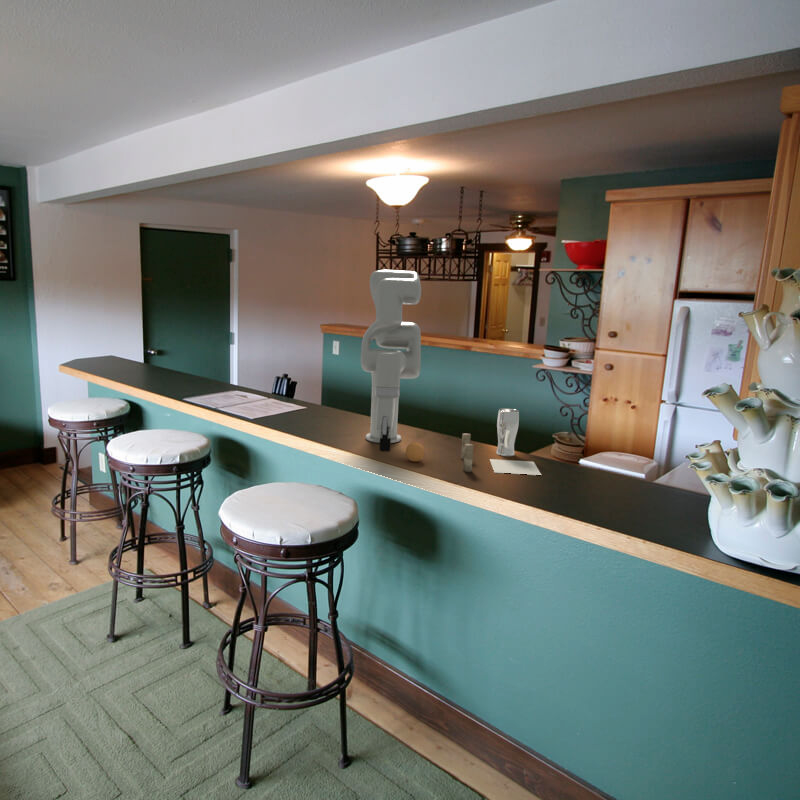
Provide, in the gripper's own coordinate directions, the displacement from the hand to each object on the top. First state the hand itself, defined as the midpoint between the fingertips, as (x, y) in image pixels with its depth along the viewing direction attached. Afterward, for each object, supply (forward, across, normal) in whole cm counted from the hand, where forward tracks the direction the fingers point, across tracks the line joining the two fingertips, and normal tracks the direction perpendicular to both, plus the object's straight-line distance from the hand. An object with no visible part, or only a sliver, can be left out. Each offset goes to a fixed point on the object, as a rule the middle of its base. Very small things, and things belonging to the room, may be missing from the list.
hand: (384, 450), depth 176 cm
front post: (+3, +6, +25) cm, 26 cm away
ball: (0, -1, +9) cm, 9 cm away
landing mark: (+3, -1, +40) cm, 41 cm away
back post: (+3, -8, +25) cm, 27 cm away
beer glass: (+3, -16, +39) cm, 43 cm away
